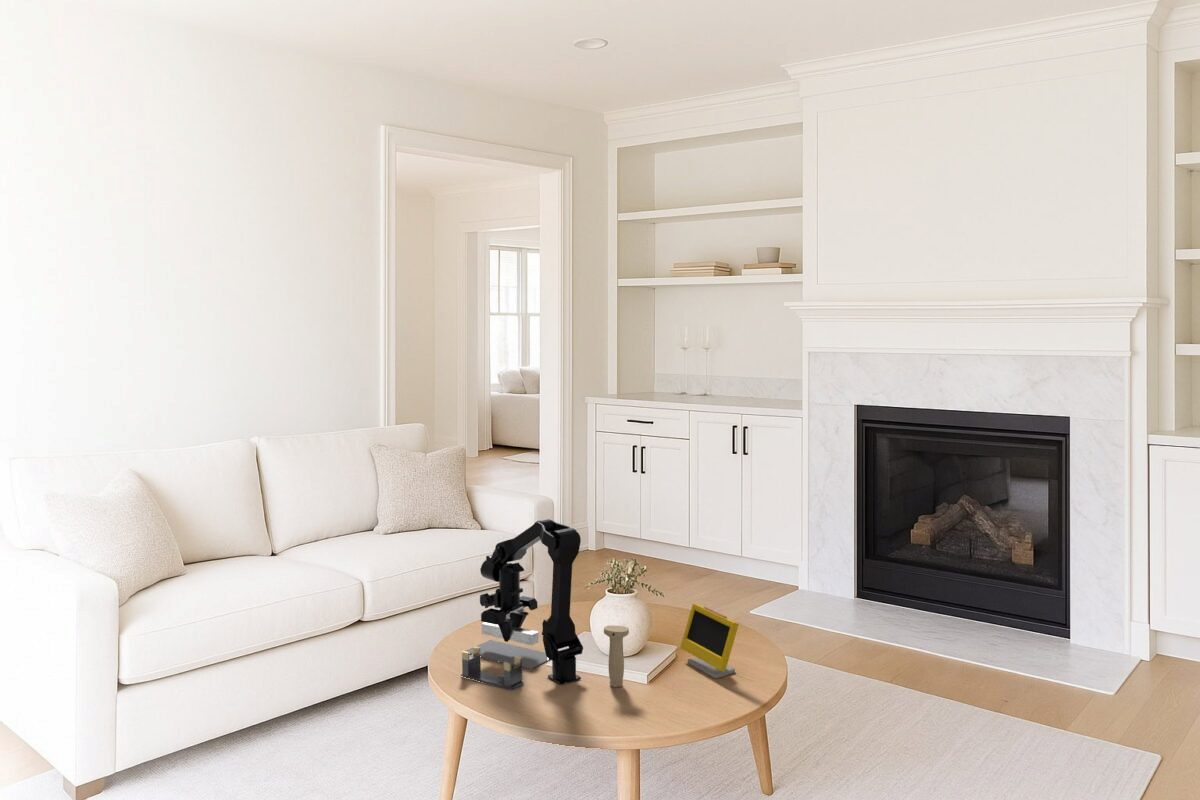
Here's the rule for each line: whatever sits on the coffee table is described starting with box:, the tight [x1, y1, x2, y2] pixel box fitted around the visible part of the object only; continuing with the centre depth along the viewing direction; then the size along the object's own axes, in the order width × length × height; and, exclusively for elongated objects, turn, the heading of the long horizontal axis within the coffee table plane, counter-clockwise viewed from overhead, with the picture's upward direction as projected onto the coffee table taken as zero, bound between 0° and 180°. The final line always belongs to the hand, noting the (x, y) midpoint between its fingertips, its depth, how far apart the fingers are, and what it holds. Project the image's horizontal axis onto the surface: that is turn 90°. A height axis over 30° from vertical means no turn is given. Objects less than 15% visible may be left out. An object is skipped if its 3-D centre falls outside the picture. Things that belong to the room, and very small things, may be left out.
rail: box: [481, 622, 540, 646], centre depth 266 cm, size 18×3×3 cm, turn 57°
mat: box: [464, 639, 548, 671], centre depth 267 cm, size 24×12×1 cm, turn 57°
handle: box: [603, 624, 630, 688], centre depth 243 cm, size 5×6×15 cm
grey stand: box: [460, 646, 525, 692], centre depth 247 cm, size 17×5×7 cm, turn 57°
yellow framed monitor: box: [680, 602, 739, 680], centre depth 255 cm, size 20×8×16 cm, turn 27°
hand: (510, 639), depth 266 cm, fingers closed on rail, 3 cm apart
